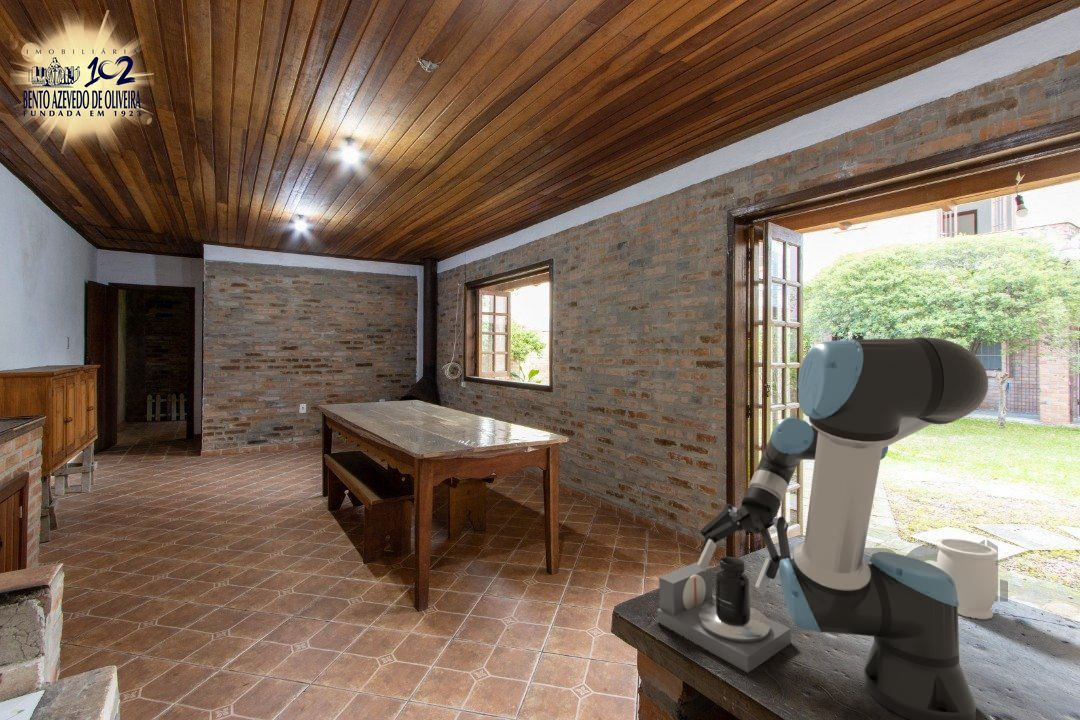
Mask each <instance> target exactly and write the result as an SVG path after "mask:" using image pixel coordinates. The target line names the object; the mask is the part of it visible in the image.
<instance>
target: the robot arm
mask: <svg viewBox="0 0 1080 720" xmlns="http://www.w3.org/2000/svg"><path fill="white" fill-rule="evenodd" d="M797 390H798V393H797V399H798V405H799V408H800V409H801V412H802V413H803V414H804V415H805V416H807V417H808V422H807V421H806V420H803V419H802V418H798V417H796V416H789V417H785V418H782V419H781V420H780V421H779V422H778V423H777V424H776V426H775V427H774V428H773V430H771V434H770V437H769V440H768V442H767V444H766V446H765V447H764V451H763V453H762V455H761V457H760V459H759V462H758V464H757V467H756V469H755V471H754V473H753V475H752V477H751V479H750V482H749V484H748V488H746V491H745V493H744V495H743V498H742V500H741V505H740V507H738V508H737V507H735V506H733V505H732V504H731V503H726V505H725V507H724V508H723V509H722V511H721V512H720V513H719V514H718V515H716V516H715V517H714V518H712V520H710V521H709V522H708V523H707V524H706V525H704V526H703V527H702V528H701V529H700V530H699V532H700V534H701V536H702V537H703V538H704V542H703V543H702V546H701V548H700V552H701V554H700V557H699V559H698V561H697V562H698V563H697V565H698V566H699V567H700V568H701V569H702V571H706V569H707V567H708V566H709V564H710V562H711V559H712V558H713V555H714V554H715V551H716V549H717V546H718V545H716V543H718V542H719V541H721V540H724V539H725V538H727V537H729V536H731V535H732V534H734V533H735V532H736V533H737V532H740V531H743V530H744V531H745V532H752V533H754V534H756V535H759V534H761V536H762V539H763V542H764V544H765V547H766V549H767V551H768V553H769V557H770V558H769V557H765V561H764V563H763V565H762V568H761V570H760V573H759V575H758V578H757V580H756V583H755V586H754V587H755V589H756V590H757V591H758V592H759V594H761V595H765V594H766V593H765V592H766V590H767V589H768V585H769V582H770V580H774V579H776V576H777V573H778V572H779V580H780V585H781V590H782V594H783V599H784V602H785V606H786V608H787V612H788V614H789V617H790V619H791V621H792V622H793V623H794V625H795V626H796V627H798V628H799V629H800V630H804V631H811V632H816V633H819V634H820V633H821V634H822V633H823V634H825V633H826V634H838V635H850V636H851V635H852V636H865V637H873V642H872V644H871V647H870V650H869V651H868V652H869V653H868V655H867V658H866V660H865V662H864V666H863V671H862V673H863V685H864V687H865V689H866V691H867V692H868V693H869V694H870V696H871V697H873V699H874V700H876V702H878V703H879V704H880V705H882V706H883V707H884V708H886V709H888V710H889V711H891V712H893V713H895V714H896V715H898V716H900V717H902V718H905V719H907V720H909V719H911V720H975V719H976V720H977V715H976V714H977V712H976V707H977V706H976V702H975V698H974V696H973V694H972V691H971V689H970V687H969V684H968V681H967V679H966V677H965V674H964V671H963V669H962V667H961V666H962V665H961V664H960V638H959V636H960V635H959V614H958V606H959V602H958V598H957V591H956V585H955V582H954V580H953V579H952V578H951V577H950V576H949V575H948V574H947V573H946V572H944V571H943V570H941V569H939V568H938V567H937V565H936V566H935V565H933V564H931V563H929V562H926V561H923V560H921V559H919V558H918V559H917V558H914V557H911V556H908V555H904V554H899V553H895V552H886V551H878V552H873V553H872V554H871V556H870V557H869V563H868V562H867V561H866V560H865V559H864V554H865V548H866V542H867V538H868V537H867V536H868V530H869V527H870V520H871V515H872V509H873V505H874V498H875V492H876V487H877V480H878V476H879V469H880V466H881V460H883V459H884V458H885V457H886V454H888V451H889V446H890V445H892V444H895V443H897V442H899V441H901V440H903V439H904V438H907V437H908V436H911V435H913V434H915V433H917V432H919V431H921V430H923V429H925V428H927V427H929V426H931V425H947V424H950V423H953V422H955V421H958V420H959V419H962V418H964V417H966V416H968V415H970V414H971V413H973V412H974V411H976V410H977V408H978V407H979V406H981V404H982V403H983V402H984V400H985V399H986V396H987V395H988V394H987V393H988V390H989V378H988V373H987V371H986V369H985V367H984V365H983V363H982V362H981V361H980V360H979V358H978V357H977V355H975V354H973V353H972V352H971V351H970V350H969V349H967V348H966V347H964V346H962V345H960V344H957V343H955V342H954V341H950V340H947V339H943V338H939V337H931V336H930V337H929V336H927V337H912V338H910V337H907V338H906V337H905V338H904V337H903V338H902V337H900V338H869V339H868V338H867V339H865V338H864V339H863V338H861V339H853V338H843V339H839V340H830V341H822V342H818V343H817V344H815V345H814V346H812V348H810V349H809V350H808V352H807V353H806V355H804V358H803V360H802V363H801V365H800V368H799V373H798V378H797ZM802 460H804V461H805V460H806V461H807V460H808V461H809V460H810V461H812V460H813V461H814V462H813V472H812V473H813V474H812V480H811V487H810V497H809V503H808V510H807V511H808V513H807V517H806V518H807V519H806V520H807V521H806V528H805V536H804V540H803V541H801V542H799V543H798V544H797V545H796V546H795V548H794V550H793V553H792V557H791V551H790V546H789V545H790V544H789V539H788V528H789V523H788V522H787V521H786V519H785V517H784V516H778V518H777V515H778V512H779V511H780V508H781V506H782V503H781V502H783V500H784V497H785V495H786V493H787V490H788V488H789V486H790V482H791V479H792V478H793V475H794V473H795V471H796V469H797V468H798V466H799V464H800V462H801V461H802ZM738 523H739V524H738ZM773 526H774V527H776V534H777V541H778V547H779V552H778V551H777V549H776V546H775V544H774V542H773V538H772V537H771V534H770V531H769V528H771V527H773ZM779 553H780V555H779Z"/></svg>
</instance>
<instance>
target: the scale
mask: <svg viewBox="0 0 1080 720" xmlns="http://www.w3.org/2000/svg"><path fill="white" fill-rule="evenodd" d="M697 563H698V561H696V562H693V563H691V564H689V565H686V566H683V567H681V568H679V569H676V570H674V571H671V572H668V573H667V574H664V575H661V576H659V577H658V578H659V580H658V586H659V587H658V588H659V589H658V590H659V607H658V608H657V609H656V617H657V619H656V621H658V622H659V623H661V624H663V625H664V626H666V627H668V628H670V629H672V630H674V631H675V632H677V633H678V634H680V635H682V636H684V637H685V638H684V637H683V638H684V639H686V638H687V639H686V640H688V639H689V640H690V641H689V640H688V641H689V642H691V641H692V642H691V643H693V642H694V643H693V644H695V645H697V646H698V645H699V647H700V646H701V648H702V647H703V648H702V649H704V650H706V651H707V650H708V652H709V653H711V654H713V655H715V656H717V657H719V658H721V659H722V660H724V661H726V662H727V663H730V664H731V665H732V666H735V667H737V668H738V669H740V670H742V671H744V672H745V673H747V674H748V673H750V672H751V671H753V670H754V669H757V667H758V666H760V665H761V664H764V662H766V661H767V660H769V659H770V658H772V657H773V656H775V655H776V654H777V653H779V652H780V651H782V650H784V649H785V648H786V647H787V646H789V645H790V644H792V631H791V627H788V626H786V625H784V624H782V623H779V622H776V621H774V620H772V619H770V618H768V617H767V619H768V620H769V623H770V633H769V635H768V637H766V638H765V639H763V640H761V641H757V642H747V643H746V642H735V641H730V640H726V639H723V638H720V637H718V636H715V635H713V634H712V633H710V632H708V631H707V630H706V629H705V628H703V626H702V625H701V624H700V622H699V609H700V608H701V607H702V606H703V605H705V604H708V603H711V602H716V594H713V575H712V573H713V571H712V566H709V565H708V567H707V569H706V571H702V569H701V568H700V567H699V566H698V565H697ZM659 623H658V624H659ZM664 626H663V627H664ZM666 627H665V628H666ZM668 628H667V629H668ZM675 632H674V633H675ZM677 633H676V634H677ZM678 634H677V635H678ZM680 635H679V636H680ZM682 636H681V637H682Z"/></svg>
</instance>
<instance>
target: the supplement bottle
mask: <svg viewBox="0 0 1080 720" xmlns="http://www.w3.org/2000/svg"><path fill="white" fill-rule="evenodd" d="M719 564H720V565H719V570H718V571H716V573H715V596H716V614H717V616H718V617H719V618H720V619H721V620H722V621H724V622H726V623H729V624H733V625H744V624H746V623H748V622H749V621H750V607H751V581H750V578H749V576H748V575H747V574H746V573H745V572H746V568H745V562H744V560H742V559H741V558H737V557H733V556H723V557H721V558H720V562H719Z"/></svg>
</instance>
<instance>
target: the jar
mask: <svg viewBox="0 0 1080 720" xmlns="http://www.w3.org/2000/svg"><path fill="white" fill-rule="evenodd" d="M936 547H937V549H939V550H938V551H937V558H936V567H938V568H939V569H941V570H943V571H944V572H946V573H947V574H948V575H949V576H950V577H951V578H952V579H953V580H954V582H955V585H956V591H957V598H958V602H959V606H958V616H959V615H960V616H962V617H967V618H970V617H971V619H975V618H977V619H976V620H989V619H992V618H994V613H993V611H992V609H991V608H992V607H993V605H994V604H995V601H996V597H997V591H998V585H999V573H998V567H997V564H996V561H995V558H997V557H998V554H997V553H998V551H997V550H996V549H995V548H993V547H991V546H989V545H986V544H983V543H980V542H976V541H971V540H966V539H957V538H940V539H937V540H936Z"/></svg>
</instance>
